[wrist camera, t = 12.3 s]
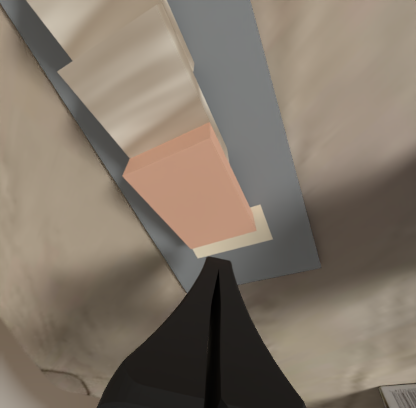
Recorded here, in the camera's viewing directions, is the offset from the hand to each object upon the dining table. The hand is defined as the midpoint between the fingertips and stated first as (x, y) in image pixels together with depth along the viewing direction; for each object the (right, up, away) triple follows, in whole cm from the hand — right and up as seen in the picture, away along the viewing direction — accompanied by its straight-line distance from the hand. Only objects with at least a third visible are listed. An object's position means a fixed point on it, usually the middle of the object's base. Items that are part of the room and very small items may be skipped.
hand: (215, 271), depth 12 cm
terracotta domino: (+1, +2, +4) cm, 4 cm away
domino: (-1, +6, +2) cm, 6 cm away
